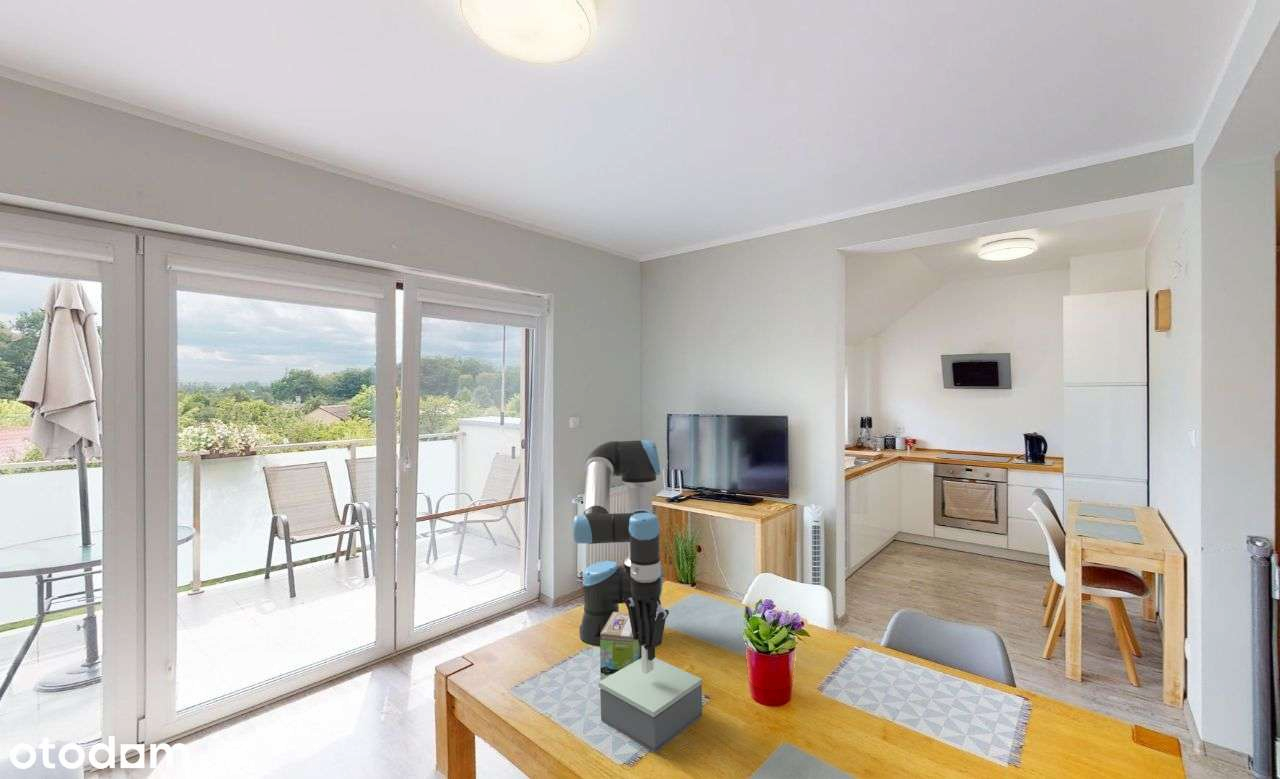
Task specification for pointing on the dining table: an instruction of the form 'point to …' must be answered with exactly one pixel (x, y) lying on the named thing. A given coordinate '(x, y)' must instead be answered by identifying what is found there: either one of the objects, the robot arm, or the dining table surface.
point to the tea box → (617, 645)
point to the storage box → (651, 719)
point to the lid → (650, 686)
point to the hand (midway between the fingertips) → (647, 670)
